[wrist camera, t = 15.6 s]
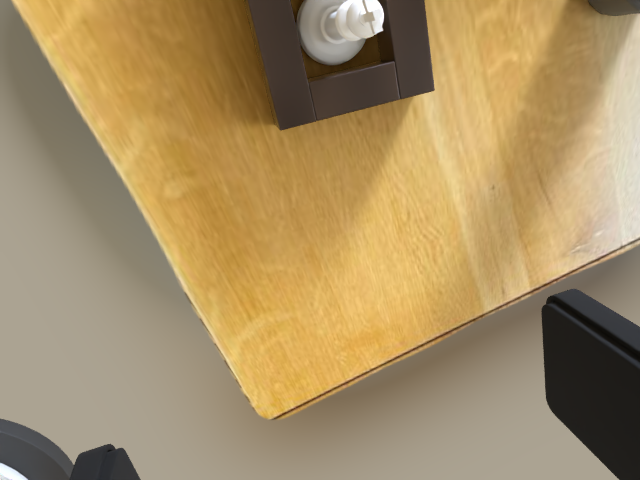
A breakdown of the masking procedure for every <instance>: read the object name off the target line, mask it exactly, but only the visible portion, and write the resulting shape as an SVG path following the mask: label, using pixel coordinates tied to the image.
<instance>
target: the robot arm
mask: <svg viewBox="0 0 640 480" xmlns="http://www.w3.org/2000/svg"><path fill="white" fill-rule="evenodd" d="M542 328H543V349H544V368H545V389H546V400H547V403H548V405H549V407H550V409H551V411H552V412H553V413H554V414H555V416H556V417H557V418H558V419H560V420H561V422H563V423H564V425H566V427H567V428H569V429H570V431H571V432H572V433H573V434H574V435H575V436H576V437H577V438H578V439H579V440H580V441H582V443H583V444H584V445H585V446H586V447H587V448H588V449H589V450H590V451H591V452H592V453H593V454H594V455H595V456H596V457H597V458H599V460H600V461H601V462H602V463H603V464H604V465H605V466H606V467H607V468H608V469H609V470H610V471H611V472H612V473H613V474H614V475H615V476H616V477H617V478H618V479H619V480H640V327H639V326H637V325H636V324H634V323H632V322H631V321H629V320H627V319H626V318H624V317H623V316H621V315H619V314H617V313H616V312H614V311H612V310H611V309H609V308H607V307H606V306H604V305H603V304H601V303H599V302H598V301H596V300H594V299H593V298H591V297H589V296H588V295H586V294H584V293H583V292H581V291H579V290H577V289H570V290H567V291H564V292H561V293H558V294H555V295H552V296H550V297H548V299H547V301H546V305H544V306H543V307H542ZM0 480H28V479H27V478H26V477H24V476H23V475H22V474H20V473H19V472H17V471H16V470H14V469H12V468H10V467H8V466H6V465H4V464H2V463H0ZM70 480H140V478H139V476H138V474H137V472H136V470H135V468H134V467H133V465H132V462H131V461H130V459H129V457H128V455H127V453H126V451H125V450H124V449H123V448H118V449H115V447H114V446H113V445H111V444H107V445H104V446H101V447H98V448H95V449H92V450H89V451H86V452H83V453H81V454H79V455H78V457H77V459H76V462H75V465H74V468H73V471H72V474H71V477H70Z"/></svg>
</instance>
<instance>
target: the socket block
mask: <svg viewBox="0 0 640 480" xmlns="http://www.w3.org/2000/svg"><path fill="white" fill-rule="evenodd" d="M377 1H378V2H379V3H380V5H381V7H382V9H383V13H384V20H383V24H382V28H383V31H381V32H379V33H377V40H378V46H379V52H380V59H381V61H378V62H374V63H370V64H365V65H361V66H357V67H353V68H349V69H345V70H341V71H337V72H333V73H329V74H325V75H321V76H317V77H313V78H309V79H307V75H306V71H305V66H304V61H303V57H302V52H301V48H300V43H299V38H298V34H297V29H296V25H295V20H294V15H293V11H292V6H291V2H290V0H244V4H245V8H246V12H247V16H248V20H249V24H250V28H251V32H252V36H253V40H254V44H255V48H256V51H257V55H258V59H259V63H260V67H261V71H262V75H263V79H264V83H265V87H266V91H267V95H268V99H269V103H270V107H271V111H272V115H273V119H274V123H275V125H276V126H277V127H278V128H279V130H284V129H288V128H292V127H296V126H300V125H304V124H308V123H312V122H316V120H317V121H319V120H323V119H327V118H331V117H334V116H338V115H342V114H346V113H350V112H354V111H358V110H362V109H365V108H369V107H373V106H377V105H381V104H385V103H389V102H393V101H396V100H399V99H404V98H408V97H412V96H416V95H420V94H424V93H428V92H432V91H434V90H435V89H434V80H433V72H432V63H431V54H430V46H429V37H428V28H427V20H426V11H425V3H424V0H377Z"/></svg>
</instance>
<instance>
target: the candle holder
mask: <svg viewBox="0 0 640 480" xmlns="http://www.w3.org/2000/svg"><path fill="white" fill-rule="evenodd" d="M588 1H589V3H590V5H591V6H592V7H593V8H595V9H596V10H597V11H598V12H599V13H601V14H606V15H612V16H618V15H627V14H637V13H640V0H588Z"/></svg>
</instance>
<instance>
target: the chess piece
mask: <svg viewBox="0 0 640 480" xmlns="http://www.w3.org/2000/svg"><path fill="white" fill-rule="evenodd" d="M383 20H384V13H383V9H382V7H381V5H380V3H379V2H378V1H377V0H304V1H303V3H302V4H301V6H300V9H299V11H298V15H297V20H296V29H297V34H298V38H299V42H300V44H301V46H302V48H303V50H304V51H305V52H306V54H307V55H308V56H309V57H311V58H312V59H313V60H315V61H317V62H319V63H321V64H325V65H339V64H342V63H345V62H347V61H349V60H350V59H352V58H353V57H354V56H355V55H356V54H357V53H358V52H359V51H360V50H361V48H362V47H363V45H364V43H365V41H366V38H369V37H372V36H374V35H375V34H377V33H379V32H381V31H383V28H382V24H383Z"/></svg>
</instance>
